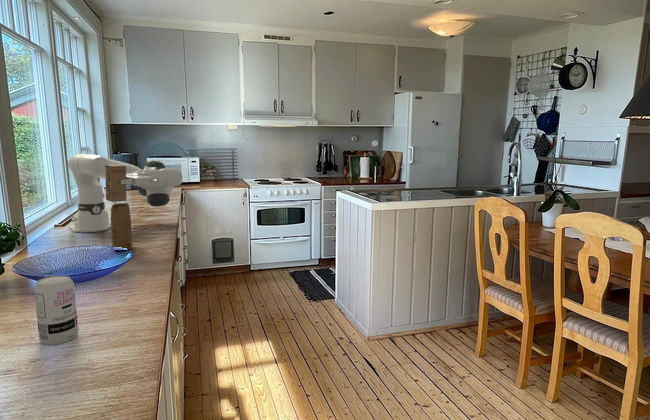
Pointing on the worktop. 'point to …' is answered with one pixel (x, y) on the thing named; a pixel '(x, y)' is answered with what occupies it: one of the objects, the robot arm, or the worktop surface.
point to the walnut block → (115, 183)
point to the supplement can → (56, 310)
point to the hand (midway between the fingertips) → (116, 181)
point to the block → (121, 226)
